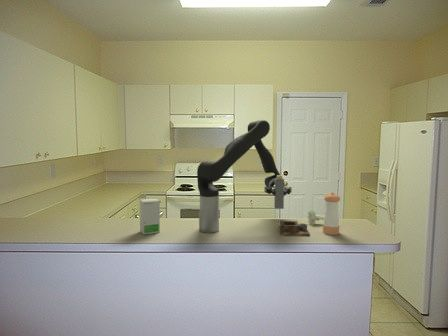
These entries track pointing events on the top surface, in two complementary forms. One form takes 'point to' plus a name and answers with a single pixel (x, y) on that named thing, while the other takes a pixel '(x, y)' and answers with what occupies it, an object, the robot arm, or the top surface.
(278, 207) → the grey square column
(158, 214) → the skincare box
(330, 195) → the pepper shaker
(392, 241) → the top surface
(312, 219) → the valve
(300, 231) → the bit block
